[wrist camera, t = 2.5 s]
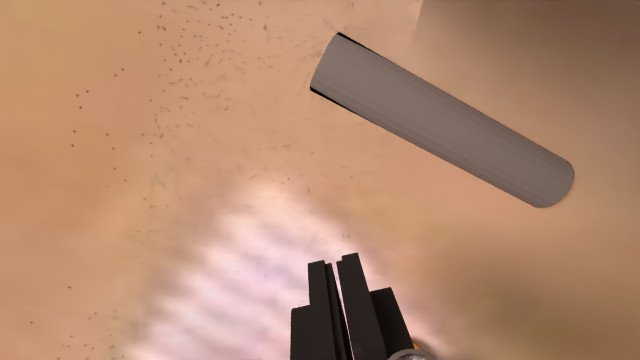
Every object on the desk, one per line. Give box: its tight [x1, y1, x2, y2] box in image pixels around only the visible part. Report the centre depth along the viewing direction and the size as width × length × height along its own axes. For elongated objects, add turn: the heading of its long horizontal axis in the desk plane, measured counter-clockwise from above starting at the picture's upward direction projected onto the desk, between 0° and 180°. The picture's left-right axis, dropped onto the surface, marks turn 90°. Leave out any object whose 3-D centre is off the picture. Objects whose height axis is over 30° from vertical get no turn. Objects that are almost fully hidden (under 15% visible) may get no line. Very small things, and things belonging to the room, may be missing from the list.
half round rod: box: [310, 32, 574, 208], centre depth 25 cm, size 4×20×2 cm, turn 63°
